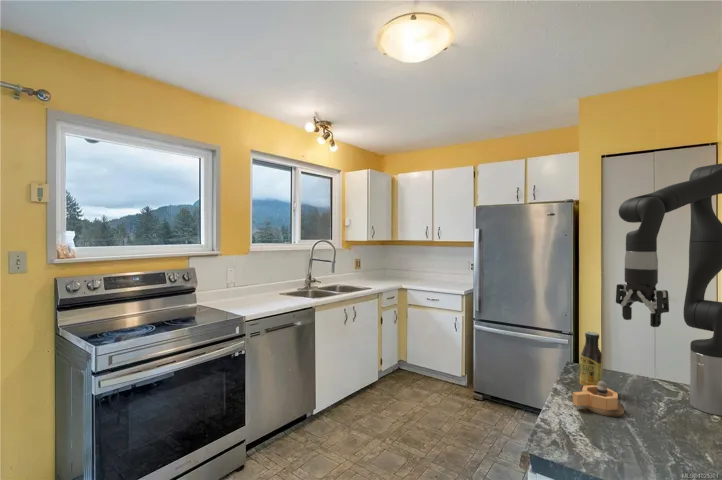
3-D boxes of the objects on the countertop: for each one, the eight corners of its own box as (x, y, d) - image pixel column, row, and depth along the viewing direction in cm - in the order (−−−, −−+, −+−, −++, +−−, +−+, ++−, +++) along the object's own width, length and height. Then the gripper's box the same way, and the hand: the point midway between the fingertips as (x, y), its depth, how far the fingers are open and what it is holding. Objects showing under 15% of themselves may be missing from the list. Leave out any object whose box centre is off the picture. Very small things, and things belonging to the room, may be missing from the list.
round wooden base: (603, 398, 115) (603, 373, 115) (633, 414, 105) (633, 387, 105) (572, 400, 114) (573, 375, 114) (600, 417, 103) (600, 390, 103)
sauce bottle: (575, 387, 124) (575, 331, 124) (588, 384, 126) (588, 329, 125) (592, 395, 118) (592, 336, 117) (606, 392, 119) (606, 334, 119)
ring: (600, 395, 114) (600, 384, 114) (625, 408, 105) (625, 397, 105) (564, 398, 112) (564, 387, 112) (586, 412, 103) (586, 400, 103)
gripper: (677, 269, 95) (677, 328, 95) (629, 264, 109) (629, 316, 109) (653, 269, 94) (653, 330, 94) (608, 265, 108) (608, 317, 108)
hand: (640, 322), depth 102 cm, fingers open, 8 cm apart
